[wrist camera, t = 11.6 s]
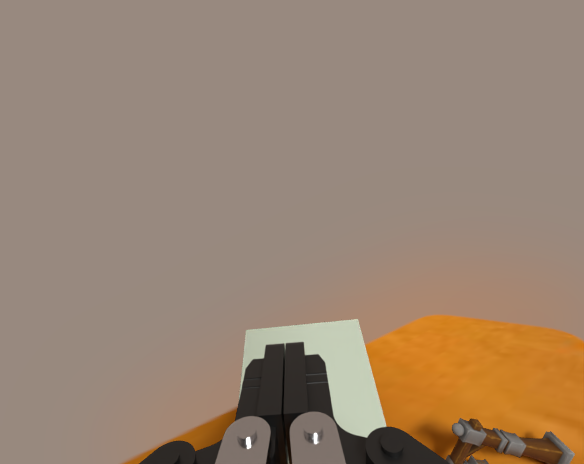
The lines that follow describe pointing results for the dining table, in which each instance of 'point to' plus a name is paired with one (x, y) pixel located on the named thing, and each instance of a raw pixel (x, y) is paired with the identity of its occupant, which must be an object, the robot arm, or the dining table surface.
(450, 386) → the dining table surface
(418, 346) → the dining table surface
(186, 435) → the dining table surface
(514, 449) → the wooden post with brackets
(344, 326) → the panel
